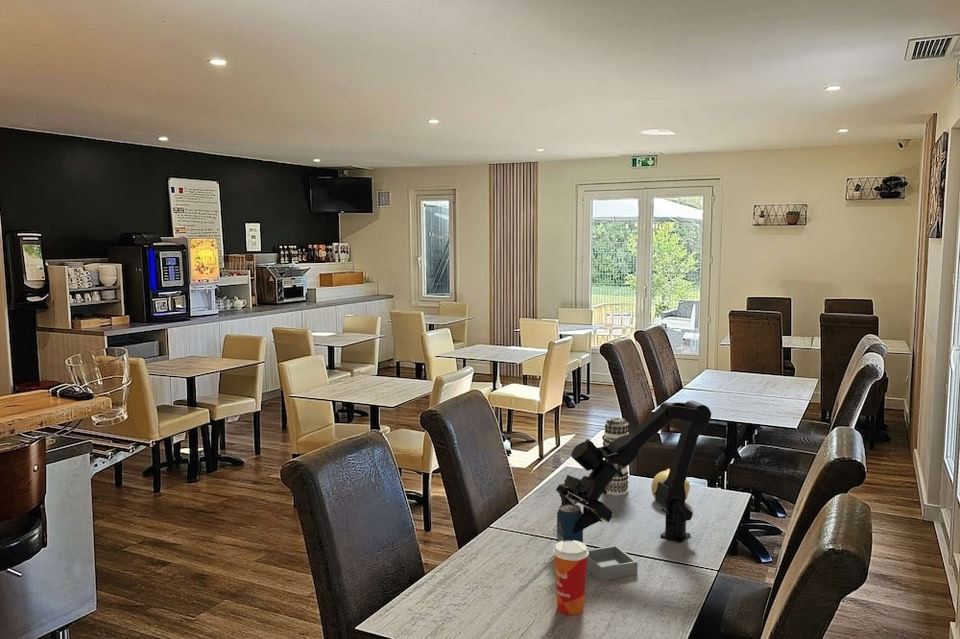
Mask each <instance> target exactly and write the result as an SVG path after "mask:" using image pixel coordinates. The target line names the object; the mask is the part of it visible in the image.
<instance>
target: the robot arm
mask: <svg viewBox="0 0 960 639" xmlns="http://www.w3.org/2000/svg"><path fill="white" fill-rule="evenodd" d="M711 419H712V411H711V409H710V408H709V407H708V406H707V405H705V404H702V403H700V402H697V401H695V400H687V401H686V402H677V401H676V402H667V401H665V402H662V403H660V406H659V407H658V408H657V409H656V410H654V411H653V412H652V413H651V414H650V415H649V416H648V417H647V418H645V419H644V420H643V421H642V422H641V423H640V424H639V425H637V426H636V427H635V428H634V429H633V430H632V431H630V432H628V434H627V435H624V436H621V437H619V438H617V439H616V440H614V441H612V442H611V443H610V444H609V445H607V446H603V445H602V446H600V447H597V446H596V445H595V444H594V442H593V441H591V440H590V439H589V438H586V440H584V441H582V442H580V443H579V444H577V445H575V447H574V448H573V449H572V452H571V456H570V457H571V459H573V460H574V461H575V462H576V463H577V464H578V465H579V466H581V468H583V469H584V470H585V471H591V472H590V473H589V475H588V476H587V475H584V476H582V477H581V478H578V477H575V476H572V475H569V474H567V475H566V478H565V479H566V480H565V479H564V480H565V483H564V482H563V483H564V484H563V483H561V484H559V485H558V486H557V487H556V488H555V491H556V493H558V494H559V497H560V498H561V499H560V501H561V505H564V504H575V505H577V504H581V505H582V506H583V508H582V513H583V514H582V516H581V517H580V519H579V521H578V522H577V524H576V526H575V527H574V529H573V532H574V533H575V534H576V533H578V532H580V531H581V530H583V531H584V530H585V529H587V528H588V527H590V526H592V525H594V524H597V523H599V522H600V523H602V522H603V521H605V522H608V523H609V522H610V521H611V520H612V518H613V511H612V510H611V509H610V508H609V507H608V506H607V505H606V504H605V503H604V502H602V501H600V498H601V497H602V495H605V496H607V495H608V494H607V491H606V490H605V489H606V488H607V486H608V485H609V483H610V482H611V480H612V479H613V477H614V476H617V477H621V478H622V477H623V474H622V468H621V467H615V466H614V465H613V464H612V463H616V464H617V465H619V466H629V465H631V464H632V463H633V462H634V460H635V459H636V458H637V457H638V456H639V453H640V451H641V448H642V447H643V446H644V445H645V444H646V443H648V441H650V440H651V439H652V438H653V437H655V435H656V434H657V433H659V432H660V431H661V430H662V429H664V428H665V427H666V425H668V424H669V423H670V422H671V421H672V420H679V422H680V423H679V424H680V429H681V431H680V434H679V438H678V441H677V445H676V447H675V451H674V455H673V457H672V462H671V466H670V468H669V469H670V471H669V475H668V478H667V479H666V480H665V481H664V482H663V483H661V482H658V484H657V490H656V492H655V493H654V495H655V496H656V497H655V498H654V500H655V503H656V504H657V505H658V506H659V507H660V510H661V512H663V513H664V514H665V518H664V519H665V522H664V523H665V524H664V526H665V527H664V531H663V532H662V533H660V534H659V536H660V538H664V539H667V540H671V541H674V542H678V543H682V542H684V541H686V540H687V539H688V538H689V537H691V533H689V532H687V531H686V530H687V521H691V519H692V518H693V515H694V513H693V512H692V511H691V510H690V509H689V508H688V507H687V506H686V501H687V499H686V493H685V486H684V485H685V480H686V479H687V476H688V472H689V470H690V466H691V463H692V459H693V457H694V453H695V449H696V446H697V443H698V440H699V437H700V435H701V434H702V433H703V432H704V431H705V430H706V429H707V427H708V425H709V423H710V421H711ZM605 459H606V460H608V461H607V462H606V461H605ZM561 505H560V506H561Z"/></svg>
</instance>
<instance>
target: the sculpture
mask: <svg viewBox="0 0 960 639" xmlns="http://www.w3.org/2000/svg"><path fill="white" fill-rule="evenodd" d="M669 471H670V468H666V470H663V471H660V472H658V473H657V474H656V475H655V476H654V478H653V479H652V482H651V493H652V494H651V495H652V497H653V498H654V499H655V497H656V496H655V495H654V493H655V492H656V490H657V484H658V482H661V483H663V482H664V481H665V480H666V479H667V478H668V475H669ZM684 486H685V493H686V500H687V499H688V497H689V496H688V495H689V492H690V488H691V485H690V481H689V480H688V479H687V478H686V480H685V485H684Z"/></svg>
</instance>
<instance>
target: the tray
mask: <svg viewBox="0 0 960 639" xmlns="http://www.w3.org/2000/svg"><path fill="white" fill-rule="evenodd" d="M587 550H588V551H589V555H588V556H587V568H586V571H587V570H588V572H589V573H591V574H592V576H594V577H595V578H596V579H597V580H598V581H600V582H603V581H609V580H614V579H620V578H625V577H630V576H635V575H638V562H639V561H637V560H636V559H634V558H633V557H632V556H631V555H629V554H628V553H627V552H625V551H624V550H623V549H621V548H620V547H619V546H618V545H611V546H610V545H609V546H605V547H604V546H603V547H598V548H593V549H592V548H591V549H587Z"/></svg>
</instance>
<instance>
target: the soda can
mask: <svg viewBox="0 0 960 639" xmlns="http://www.w3.org/2000/svg"><path fill="white" fill-rule="evenodd" d="M582 514H583V510H581V506H580V505H577V504H564V505H560V506H559V507H558V510H557V512H556V543H558V542H560V541H563V543H564V542H565V541H573V540H575V541H579V542H582V543H584V529H583V530H581V531H580V532H578V533H576V534H575V533H574V532H573V529H574V527H575V526H576V524H577V522H578V521H579V519H580V517H581V516H582Z"/></svg>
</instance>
